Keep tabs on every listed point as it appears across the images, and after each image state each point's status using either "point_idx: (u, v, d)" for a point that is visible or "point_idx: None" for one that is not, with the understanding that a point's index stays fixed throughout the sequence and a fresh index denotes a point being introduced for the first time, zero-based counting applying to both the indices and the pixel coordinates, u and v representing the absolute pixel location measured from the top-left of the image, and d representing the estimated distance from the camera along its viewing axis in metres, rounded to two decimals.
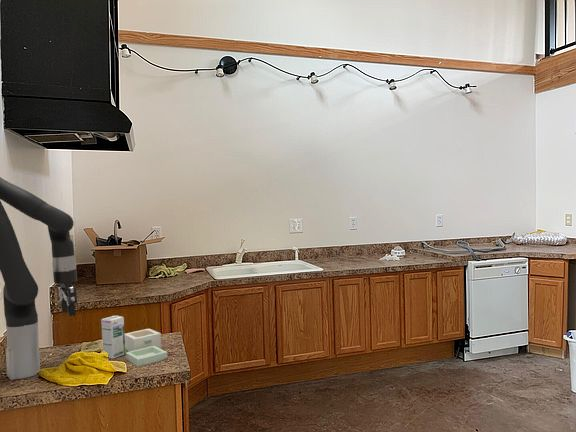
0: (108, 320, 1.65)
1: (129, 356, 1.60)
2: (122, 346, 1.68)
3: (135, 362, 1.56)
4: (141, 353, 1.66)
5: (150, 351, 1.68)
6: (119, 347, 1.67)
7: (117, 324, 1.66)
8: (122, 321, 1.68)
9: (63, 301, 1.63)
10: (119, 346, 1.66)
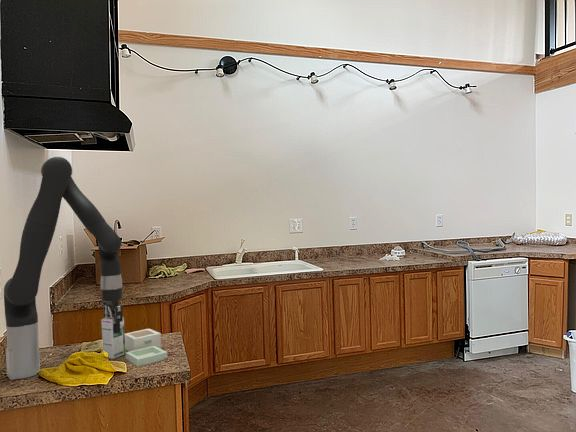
0: (108, 320, 1.65)
1: (129, 356, 1.60)
2: (122, 346, 1.68)
3: (135, 362, 1.56)
4: (141, 353, 1.66)
5: (150, 351, 1.68)
6: (120, 347, 1.67)
7: None
8: (122, 321, 1.68)
9: None
10: (119, 346, 1.66)
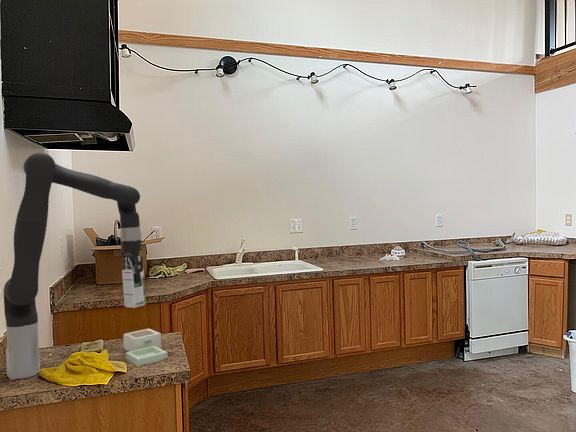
0: (129, 271, 1.70)
1: (129, 356, 1.60)
2: (142, 296, 1.73)
3: (135, 362, 1.56)
4: (141, 353, 1.66)
5: (150, 351, 1.68)
6: (140, 297, 1.72)
7: None
8: (142, 272, 1.73)
9: None
10: (139, 296, 1.71)
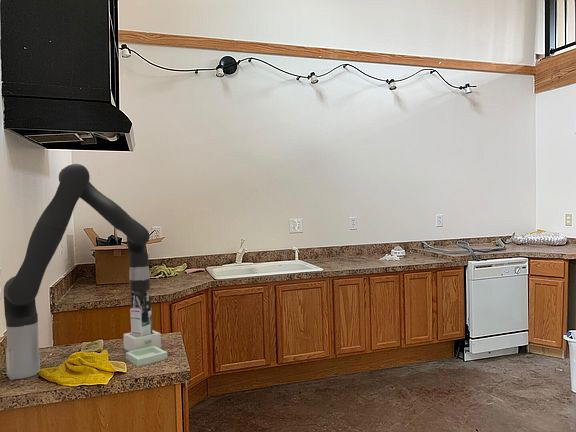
0: (137, 309, 1.72)
1: (129, 356, 1.60)
2: None
3: (135, 362, 1.56)
4: (141, 353, 1.66)
5: (150, 351, 1.68)
6: None
7: None
8: (150, 311, 1.75)
9: None
10: (147, 334, 1.73)
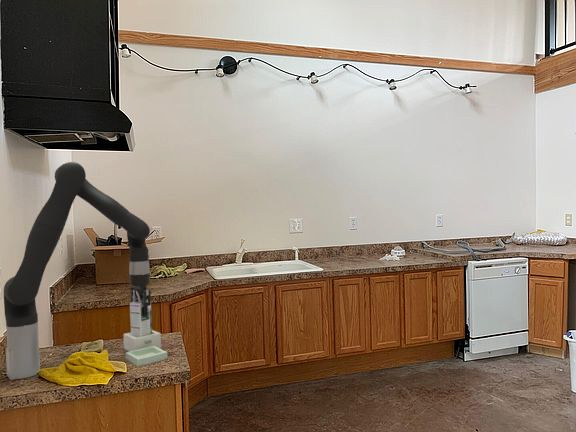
0: (136, 304, 1.72)
1: (129, 356, 1.60)
2: (149, 329, 1.75)
3: (135, 362, 1.56)
4: (141, 353, 1.66)
5: (150, 351, 1.68)
6: (147, 331, 1.74)
7: None
8: (149, 305, 1.75)
9: None
10: (146, 329, 1.73)
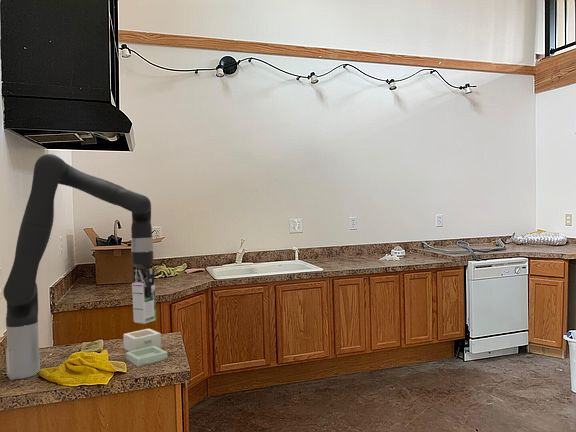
0: (139, 284, 1.59)
1: (129, 356, 1.60)
2: (153, 311, 1.62)
3: (135, 362, 1.56)
4: (141, 353, 1.66)
5: (150, 351, 1.68)
6: (151, 312, 1.61)
7: None
8: (153, 286, 1.63)
9: None
10: (150, 311, 1.61)
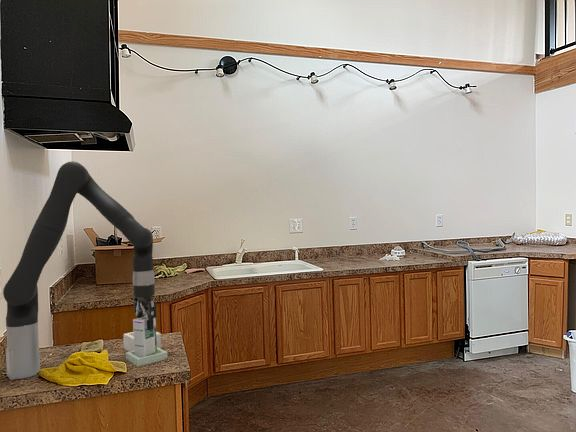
0: (140, 321, 1.60)
1: (129, 356, 1.60)
2: (154, 347, 1.62)
3: (135, 362, 1.56)
4: None
5: None
6: (151, 349, 1.61)
7: None
8: (154, 322, 1.63)
9: (139, 315, 1.65)
10: (151, 347, 1.61)
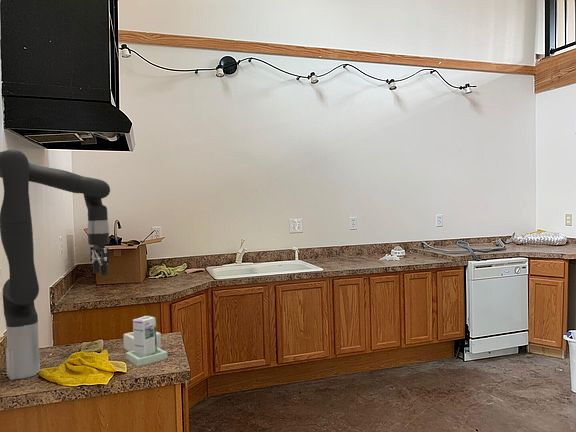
0: (140, 321, 1.60)
1: (129, 356, 1.60)
2: (154, 347, 1.62)
3: (135, 362, 1.56)
4: None
5: None
6: (151, 349, 1.61)
7: (149, 325, 1.61)
8: (154, 322, 1.63)
9: (95, 263, 1.76)
10: (151, 347, 1.61)
